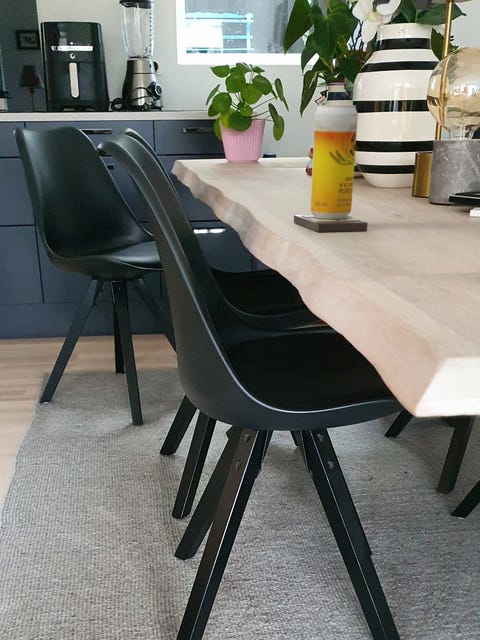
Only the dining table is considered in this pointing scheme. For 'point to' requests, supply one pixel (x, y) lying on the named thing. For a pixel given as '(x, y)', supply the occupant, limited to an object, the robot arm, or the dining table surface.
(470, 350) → the dining table surface
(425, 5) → the robot arm
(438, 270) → the dining table surface
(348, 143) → the beer can
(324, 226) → the grey grid tile
